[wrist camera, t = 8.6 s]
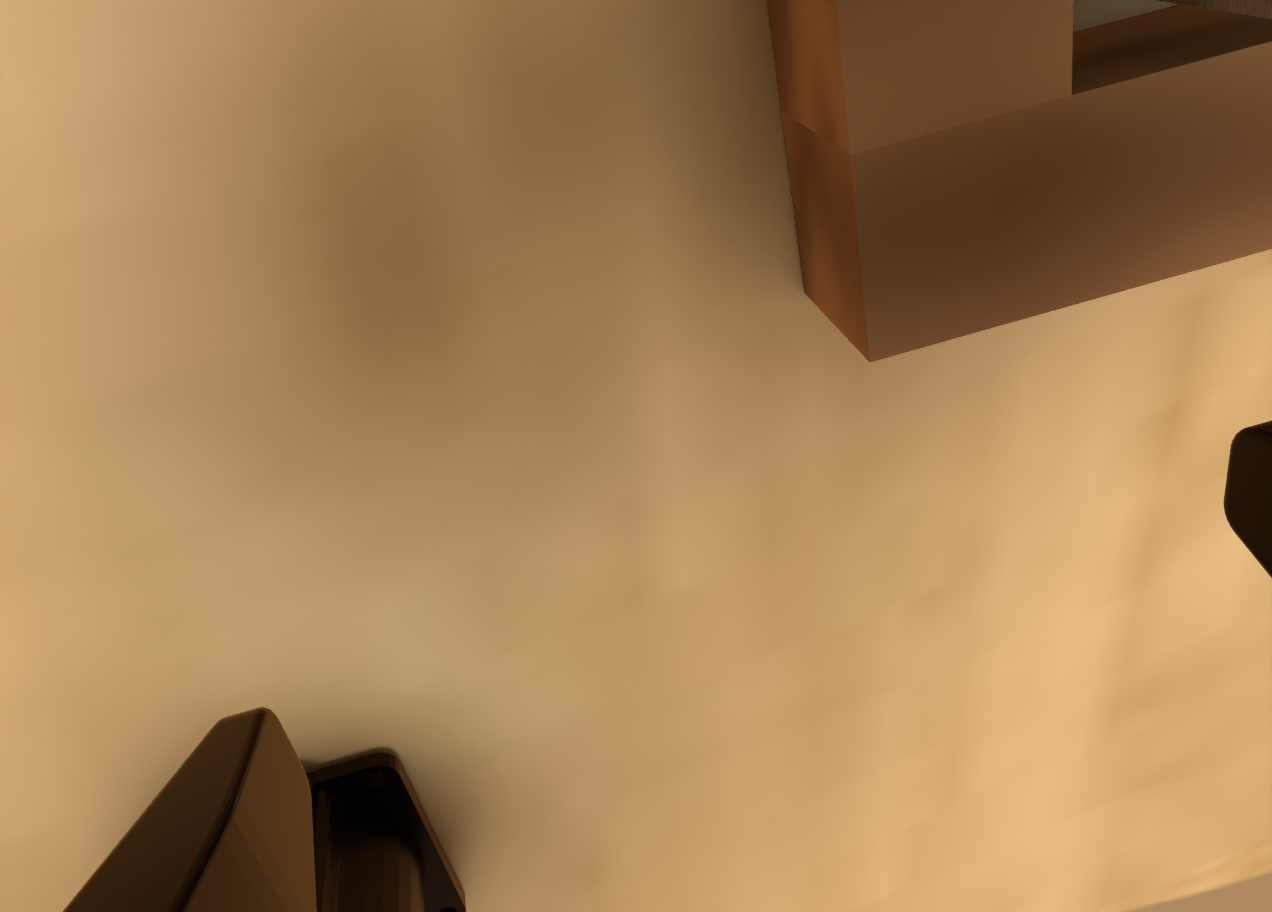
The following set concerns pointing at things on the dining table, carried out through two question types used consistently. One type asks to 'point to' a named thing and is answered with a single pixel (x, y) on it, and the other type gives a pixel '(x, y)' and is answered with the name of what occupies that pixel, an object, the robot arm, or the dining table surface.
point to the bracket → (1233, 6)
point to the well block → (1014, 156)
